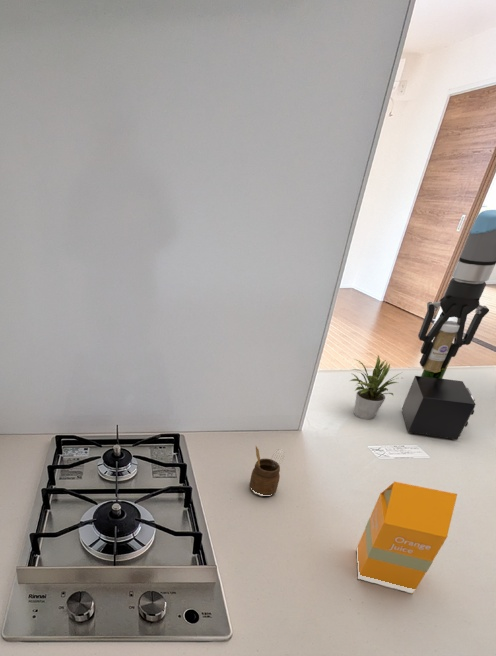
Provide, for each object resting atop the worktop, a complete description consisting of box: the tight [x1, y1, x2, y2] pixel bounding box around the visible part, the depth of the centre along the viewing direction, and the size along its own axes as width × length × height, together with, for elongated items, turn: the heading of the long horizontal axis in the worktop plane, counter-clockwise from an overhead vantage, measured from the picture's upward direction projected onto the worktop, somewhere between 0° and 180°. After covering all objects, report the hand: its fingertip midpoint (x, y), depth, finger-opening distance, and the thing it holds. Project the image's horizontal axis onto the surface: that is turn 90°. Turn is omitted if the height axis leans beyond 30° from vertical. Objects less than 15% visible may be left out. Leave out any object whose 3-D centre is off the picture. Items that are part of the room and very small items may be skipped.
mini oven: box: [401, 375, 477, 440], centre depth 115 cm, size 12×13×11 cm
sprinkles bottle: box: [421, 320, 460, 372], centre depth 120 cm, size 5×5×14 cm
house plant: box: [349, 354, 404, 420], centre depth 120 cm, size 14×14×16 cm
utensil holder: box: [249, 445, 284, 495], centre depth 95 cm, size 6×6×12 cm
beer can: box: [420, 357, 453, 379], centre depth 132 cm, size 5×5×12 cm
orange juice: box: [356, 481, 458, 590], centre depth 74 cm, size 8×9×20 cm
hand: (432, 365), depth 123 cm, fingers closed on sprinkles bottle, 4 cm apart
